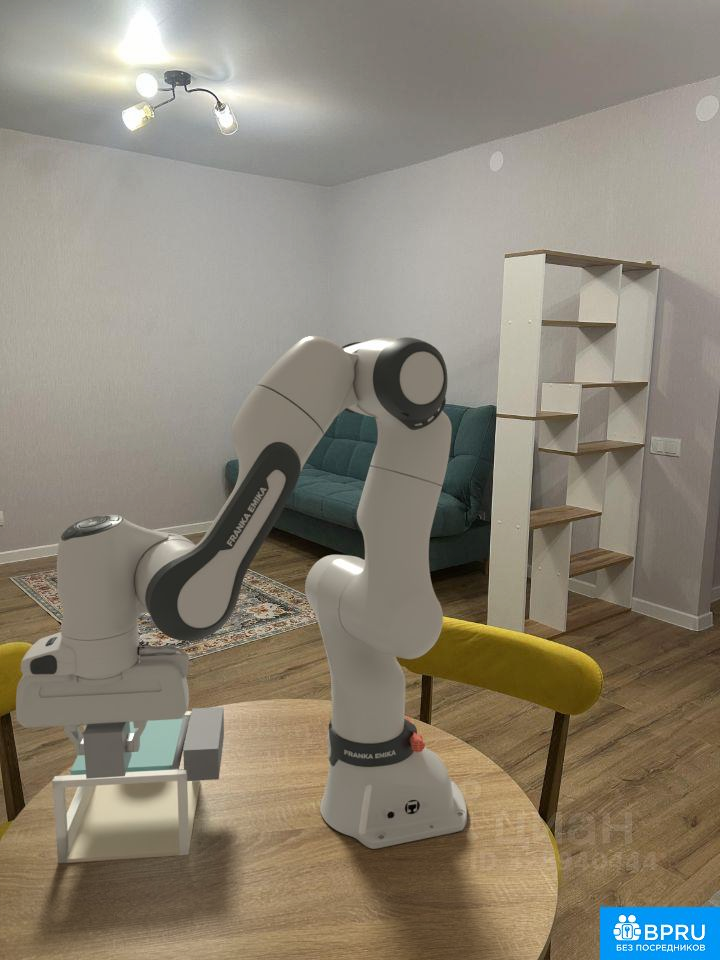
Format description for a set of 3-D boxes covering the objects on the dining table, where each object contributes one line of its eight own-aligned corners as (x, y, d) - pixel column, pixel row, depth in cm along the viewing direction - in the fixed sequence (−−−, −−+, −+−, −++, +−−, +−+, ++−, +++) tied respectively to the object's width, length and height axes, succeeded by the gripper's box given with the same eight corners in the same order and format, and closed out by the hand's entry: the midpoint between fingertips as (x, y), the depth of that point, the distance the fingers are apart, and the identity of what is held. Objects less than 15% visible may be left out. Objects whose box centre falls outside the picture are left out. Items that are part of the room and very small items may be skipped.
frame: (200, 781, 120) (198, 710, 118) (188, 854, 103) (185, 773, 101) (89, 787, 118) (84, 715, 116) (58, 863, 101) (52, 781, 99)
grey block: (131, 755, 95) (129, 713, 94) (124, 776, 91) (122, 731, 90) (95, 757, 95) (91, 715, 94) (86, 778, 90) (82, 734, 89)
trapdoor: (224, 731, 117) (223, 704, 116) (218, 783, 104) (217, 752, 103) (94, 738, 115) (93, 709, 114) (70, 791, 101) (68, 760, 100)
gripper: (190, 634, 94) (195, 733, 97) (23, 641, 92) (32, 742, 94) (185, 655, 88) (190, 760, 90) (6, 663, 85) (16, 771, 88)
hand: (108, 751), depth 92 cm, fingers closed on grey block, 5 cm apart
